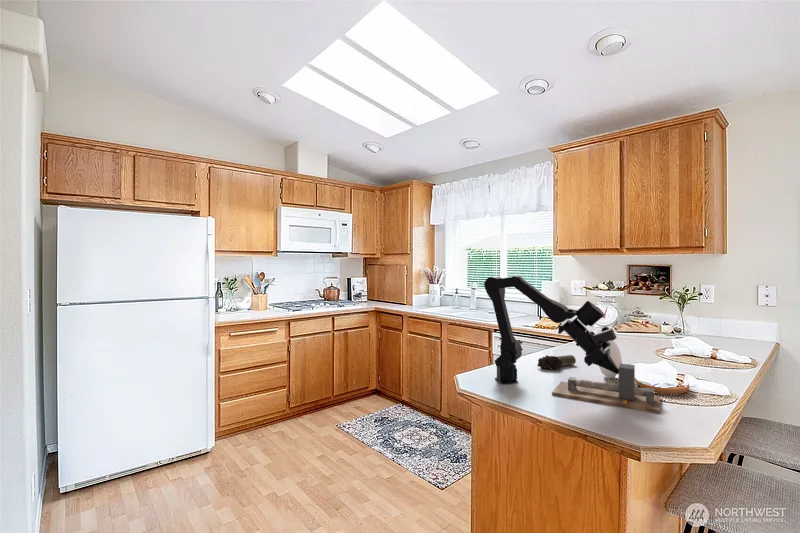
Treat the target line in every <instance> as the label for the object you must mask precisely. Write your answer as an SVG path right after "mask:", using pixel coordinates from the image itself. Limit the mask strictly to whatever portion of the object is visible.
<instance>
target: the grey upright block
mask: <svg viewBox="0 0 800 533" xmlns="http://www.w3.org/2000/svg"><path fill="white" fill-rule="evenodd" d="M635 366H636V365H635V364H627V363H622V364H620V365H619V374H618V385H619V398H623V399H630V400H634V396H635V395H634V387H636V383H635V377H636V375H635V373H636V372H635V370H636V369H635Z"/></svg>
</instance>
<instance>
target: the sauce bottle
mask: <svg viewBox="0 0 800 533" xmlns="http://www.w3.org/2000/svg"><path fill="white" fill-rule="evenodd" d="M608 342H609V343H610V344H611V345H610V346H608V347H607V348H605V350H606V351H607V350H608V349H609V348H610V357H611V358H612V360H613V362H614V363H615V365H616V366H617V368H618V369H619V365H620V364H623V362H622V360H623V359H622V354H621V350H620V348H619V346H618V344H617V343H616V341H615V340H612V341H608ZM598 368H599V370H600V372H601V374H602V375H603V376H604V377H606V379H610V378H612V379H615V378H616V375H617V374H616V373H614V372H612V371H609V370H607V369H605V368H603V367H600V366H598ZM618 375H619V373H618ZM618 375H617V376H618ZM614 377H615V378H614Z"/></svg>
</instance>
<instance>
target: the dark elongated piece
mask: <svg viewBox="0 0 800 533" xmlns="http://www.w3.org/2000/svg"><path fill="white" fill-rule="evenodd" d="M537 362H538V363H537V365H536V366H537V367H539V368H541V369H546V370H547V369H548V370H554V371H555V370H556V371H557V370H560V369H561V368H562V367H564V366H566V367H567V366H573V365H575V364H576V362H577V360H576V357H575V356H574V355H572V354H568V355H558V356H556V355H548V354H547V355H545V356H541V357H539V358H538V359H537Z"/></svg>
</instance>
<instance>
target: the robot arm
mask: <svg viewBox="0 0 800 533" xmlns="http://www.w3.org/2000/svg"><path fill="white" fill-rule="evenodd" d="M483 285H484V286H483V287H484V289H485V292H486V293H487V296H488V298H489V299H490V300H491V302H492V306H493V310H494V314H495V318H496V322H497V326H498V331H499V335H500V355H499V356H498V357H497V358H496V359H495V360H494V363H495V366H496V377H494V380H495V381H497V382H499V383H500V384H502V385H505V384H506V385H507V384H517V383H519V380H518V369H517V366H516V363H517V360H519V359H520V358H521V356H522V351H523V350H524V349H523V347H522V343H521V340H520V339H516V338H515V336H514V334H513V329H512V325H511V320H510V316H509V312H508V308H507V304H506V301H505V298H506V297H505V296H506V288H507V289H508V288H515V289H516V290H518V291H519V292H520V293H521V294H523V295H524V296H526V297H527V298H528V299H529V300H530V301H532V302H533V303H535V304H536V305H537V306H538V307H539V308H541V310H542V311H543V312H544V314H545V315H546V316H547V318H548V319H550V320H551V322H553V323H555V324H559V325H558V326H557V327H558V332H557V333H558V335H561V334H562V333H564V332H565V333H566V334H567V336H569V337H570V338H571V339H572V340H573V341H574V342H575V345H576V346H577V347H580V348H581V349H582V350H583V351H584V353H585V354H584V355H585V356H584V357H583V358H584V359H583V360H584V363H585V364H586V365H587V366H588V367H591V365H596V366H598V367H599V366H600V367H603V368H605V369H607V370H609V371H612V372H614V373H616V374H618V373H619V369H618V368H617V366H616V365H615V363H614V362H613V360H612V358H611V357H610V348H609V349H608V350H607V351H606V350H605V348H607V347H608V346H610V345H611V344H610V343H609V342H608V341H612V340H614V341H615V340H616V339H617V335H616V333H615V330H613V328H611V327H610V328H609V327H608V326H604V327H601V331H599V332H597V333H595V332H594V331H590V330H589V329H588V328H587V326H590V327H593V326H594V325H595V324H596V323H597V322H599V320H601V319H602V318H603V317H604V316H605V312H604V311H602V309H601V308H599V306H596V305H595V304H594V303H592V302H591V301H589V300H587V301H585V303H584V304H582V306H581V307H580V308H579V309H578V310H576V309H571V308H568V307H567V306H566V305H564V304H562V303H560V302H559V301H556V300H553V299H552V298H549V297H547V296H546V295H545V294H544V293H542V292H541V291H540V290H539V289H537V288H535V287H534V286H533V285H532V284H530V282H528V281H527V280H525V279H524V278H523V277H522V276H520V275H514V276H510V277H503V278H502V277H500V276H490V277H487V278H486V279H485V281H484V283H483ZM574 317H576V318H574ZM573 318H574V319H573ZM571 319H573V320H571ZM566 320H567V321H566ZM563 322H564V324H562V325H561V323H563ZM618 375H619V374H618Z"/></svg>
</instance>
